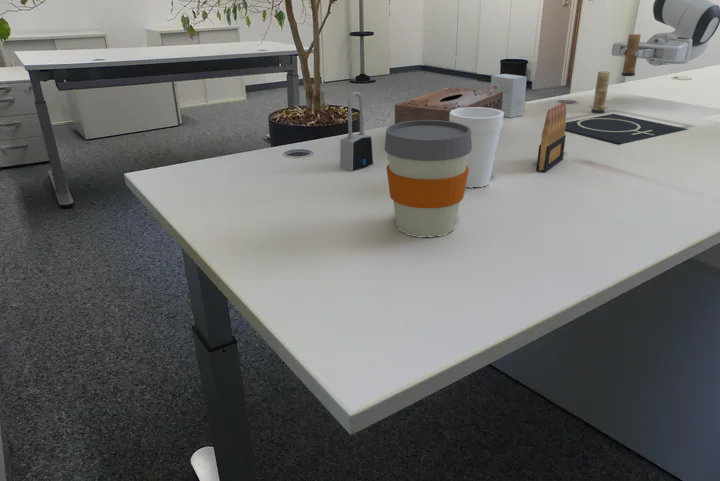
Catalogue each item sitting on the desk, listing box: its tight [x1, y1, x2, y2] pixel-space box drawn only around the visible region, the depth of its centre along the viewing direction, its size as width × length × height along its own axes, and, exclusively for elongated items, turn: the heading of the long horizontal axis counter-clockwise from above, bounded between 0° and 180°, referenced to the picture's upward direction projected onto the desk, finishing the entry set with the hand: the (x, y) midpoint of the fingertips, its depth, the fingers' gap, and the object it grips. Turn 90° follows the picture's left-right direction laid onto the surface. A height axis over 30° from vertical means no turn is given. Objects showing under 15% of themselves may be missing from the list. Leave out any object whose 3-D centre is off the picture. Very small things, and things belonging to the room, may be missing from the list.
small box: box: [490, 73, 528, 119], centre depth 151 cm, size 8×6×10 cm
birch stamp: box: [591, 70, 611, 114], centre depth 152 cm, size 3×3×11 cm
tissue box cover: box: [394, 86, 503, 124], centre depth 128 cm, size 26×14×10 cm, turn 145°
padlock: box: [339, 91, 374, 172], centre depth 110 cm, size 7×4×15 cm, turn 138°
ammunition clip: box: [535, 100, 567, 173], centre depth 108 cm, size 11×2×12 cm, turn 144°
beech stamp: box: [621, 33, 642, 77], centre depth 152 cm, size 3×3×11 cm
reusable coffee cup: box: [384, 120, 472, 237], centre depth 81 cm, size 13×13×15 cm
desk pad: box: [565, 113, 689, 146], centre depth 136 cm, size 22×24×1 cm
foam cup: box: [449, 107, 505, 189], centre depth 100 cm, size 10×9×13 cm
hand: (629, 53), depth 151 cm, fingers closed on beech stamp, 3 cm apart
